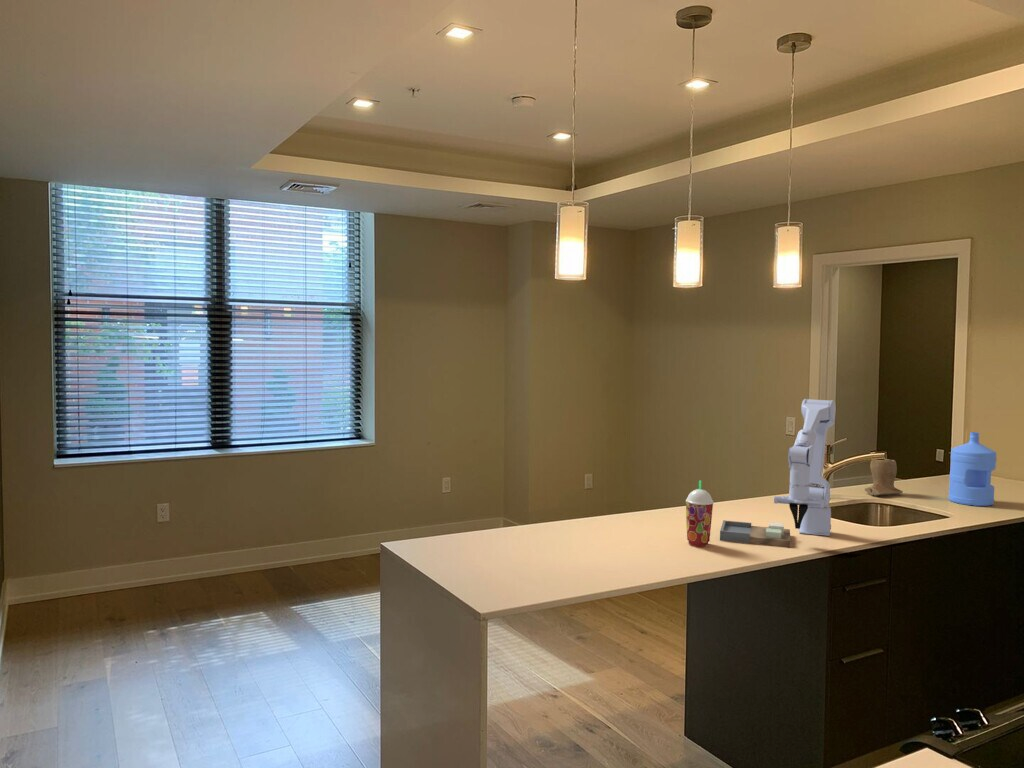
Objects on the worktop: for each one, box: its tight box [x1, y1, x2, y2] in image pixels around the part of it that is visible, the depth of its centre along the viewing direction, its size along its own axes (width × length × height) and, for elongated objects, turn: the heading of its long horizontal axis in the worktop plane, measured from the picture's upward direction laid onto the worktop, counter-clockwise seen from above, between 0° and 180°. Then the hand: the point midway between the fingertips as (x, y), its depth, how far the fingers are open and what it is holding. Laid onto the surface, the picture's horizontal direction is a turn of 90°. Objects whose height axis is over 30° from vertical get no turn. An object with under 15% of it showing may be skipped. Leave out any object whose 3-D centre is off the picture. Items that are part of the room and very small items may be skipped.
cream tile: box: [768, 522, 785, 535], centre depth 248 cm, size 4×4×2 cm
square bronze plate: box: [749, 525, 792, 548], centre depth 247 cm, size 12×15×2 cm
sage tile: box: [766, 528, 781, 539], centre depth 243 cm, size 4×4×2 cm
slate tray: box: [719, 520, 752, 544], centre depth 250 cm, size 9×15×3 cm, turn 161°
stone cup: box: [864, 458, 903, 497], centre depth 320 cm, size 15×12×15 cm
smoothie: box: [685, 479, 714, 548], centre depth 239 cm, size 8×8×20 cm
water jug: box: [948, 431, 997, 507], centre depth 307 cm, size 16×16×28 cm
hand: (797, 527), depth 240 cm, fingers closed
